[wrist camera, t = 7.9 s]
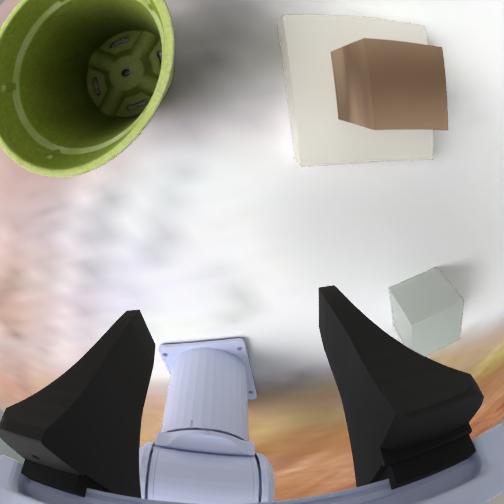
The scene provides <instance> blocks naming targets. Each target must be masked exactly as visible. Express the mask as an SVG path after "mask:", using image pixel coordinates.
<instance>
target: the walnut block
mask: <svg viewBox="0 0 504 504" xmlns="http://www.w3.org/2000/svg"><path fill="white" fill-rule="evenodd" d="M330 53H331V60H332V67H333V75H334V83H335V91H336V100H337V110H338V119H339V120H343V121H346V122H349V123H353V124H356V125H359V126H363V127H366V128H369V129H372V130H448V111H447V91H446V78H445V68H444V59H443V51H442V47H436V46H431V45H424V44H418V43H411V42H403V41H394V40H384V39H371V38H363V39H361V40H358V41H355V42H353V43H350V44H348V45H346V46H343V47H341V48H338V49H336V50H334V51H331V52H330Z"/></svg>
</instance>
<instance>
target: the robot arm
mask: <svg viewBox="0 0 504 504" xmlns="http://www.w3.org/2000/svg"><path fill="white" fill-rule="evenodd" d="M319 328H320V333H321V337H322V342H323V346H324V350H325V353H326V355H327V358H328V361H329V364H330V367H331V370H332V372H333V375H334V378H335V381H336V384H337V387H338V389H339V392H340V396H341V399H342V403H343V408H344V412H345V417H346V422H347V427H348V432H349V437H350V443H351V449H352V455H353V462H354V469H355V477H356V486H357V487H356V488H352V489H348V490H343V491H338V492H334V493H328V494H323V495H318V496H312V497H305V498H298V499H291V500H282V501H274V495H275V483H274V474H273V469H272V466H271V463H270V462H269V461H268V460H267V459H266V457H265V456H264V455H263V454H261V453H255V443H254V442H249V420H248V400H253V399H256V398H257V393H256V388H255V384H254V380H253V376H252V371H251V367H250V363H249V358H248V354H247V349H246V345H245V341H244V340H243V339H241V338H235V339H226V340H216V341H205V342H193V343H181V344H166V345H160V346H159V349H158V350H159V353H160V355H161V357H162V359H163V361H164V363H165V365H166V367H167V369H168V371H169V373H170V375H171V376H170V381H169V386H168V392H167V398H166V403H165V409H164V415H163V421H162V428H161V432H157V435H156V441H155V443H154V442H149V441H148V442H146V443H145V444H144V445H143V446H141V447H140V448H139V444H140V429H141V418H142V412H143V407H144V403H145V399H146V394H147V390H148V386H149V382H150V378H151V373H152V369H153V364H154V355H155V343H154V341H153V339H152V336H151V334H150V332H149V330H148V328H147V326H146V323H145V321H144V319H143V317H142V314H141V312H140V310H132V311H126V312H125V313H124V314H123V315H122V316H121V317H120V318H119V319H118V320H117V321H116V322H115V323H114V324H113V325H112V327H111V328H110V329H109V330H108V331H107V332H106V333H105V334H104V335H103V336H102V337H101V338H100V340H99V341H98V342H97V343H96V344H95V345H94V346H93V347H92V348H91V349H90V350H89V351H88V352H87V353H86V354H85V355H84V356H83V357H82V358H81V359H80V360H79V361H78V362H77V363H76V364H75V365H73V366H72V367H71V368H70V369H69V370H68V371H66V372H65V373H64V374H63V375H61V376H60V377H59V378H57V379H56V380H55V381H53V382H52V383H51V384H49V385H48V386H46V387H45V388H43V389H42V390H40V391H39V392H37V393H35V394H34V395H32V396H30V397H28V398H27V399H25V400H23V401H21V402H19V403H16V404H14V405H12V406H10V407H8V408H6V410H5V412H4V415H3V417H2V420H1V422H0V438H1V439H2V440H3V441H4V442H5V443H6V444H7V445H9V446H10V447H11V448H12V449H13V450H15V451H16V452H17V453H18V454H20V455H21V456H22V457H23V458H25V461H24V464H22V463H21V462H19V461H17V460H15V459H12V458H10V457H7V456H5V455H1V457H0V504H485V503H486V502H488V501H490V500H491V499H493V498H494V497H496V496H498V495H499V494H501V493H502V492H504V424H503V423H501V424H499V425H497V426H495V427H493V428H492V429H490V430H488V431H486V432H484V433H482V434H481V435H479V436H477V437H476V438H474V439H473V440H471V438H470V436H469V434H470V433H471V432H472V429H471V427H470V425H469V421H470V420H471V419H472V417H473V416H474V415H475V413H476V412H477V411H478V409H479V408H480V406H481V404H482V402H483V398H484V396H483V394H482V392H481V391H480V389H479V387H478V385H477V383H476V382H475V380H474V379H473V377H472V376H471V374H468V373H465V372H462V371H459V370H456V369H453V368H450V367H447V366H445V365H442V364H440V363H438V362H435V361H433V360H431V359H429V358H427V357H425V356H423V355H421V354H419V353H417V352H415V351H413V350H412V349H410V348H408V347H406V346H405V345H403V344H402V343H400V342H399V341H397V340H396V339H394V338H393V337H391V336H390V335H388V334H387V333H386V332H384V331H383V330H382V329H380V328H379V327H378V326H377V325H376V324H374V323H373V322H372V321H371V320H370V319H368V318H367V317H366V316H365V315H364V314H363V313H362V312H361V311H360V310H359V309H358V308H356V307H355V306H354V305H353V304H352V303H351V302H350V301H349V300H348V299H347V298H346V297H345V296H344V295H343V294H342V293H341V291H340V290H339V289H338V288H337V287H335V286H334V285H333V286H327V287H321V288H319ZM166 353H167V354H166Z"/></svg>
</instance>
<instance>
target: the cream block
mask: <svg viewBox="0 0 504 504" xmlns="http://www.w3.org/2000/svg"><path fill="white" fill-rule="evenodd" d="M277 27H278V34H279V41H280V47H281V54H282V62H283V69H284V76H285V84H286V92H287V101H288V109H289V118H290V127H291V136H292V146H293V156H294V159H295V161H296V162H297V163H298V164H299V166H300V167H310V166H320V165H332V164H345V163H359V162H376V161H397V160H433V130H372V129H369V128H366V127H363V126H359V125H356V124H353V123H349V122H346V121H343V120H339V119H338V110H337V100H336V91H335V83H334V75H333V67H332V60H331V53H330V52H331V51H334V50H336V49H338V48H341V47H343V46H346V45H348V44H350V43H353V42H355V41H358V40H361V39H363V38H371V39H384V40H394V41H403V42H411V43H418V44H424V45H428V42H427V35H426V28H425V26H423V25H418V24H412V23H407V22H401V21H394V20H387V19H379V18H370V17H359V16H344V15H282V17H281V19H280V21H279V22H278V24H277Z"/></svg>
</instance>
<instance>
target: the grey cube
mask: <svg viewBox="0 0 504 504" xmlns="http://www.w3.org/2000/svg"><path fill="white" fill-rule="evenodd" d="M388 289H389V295H390V302H391V310H392V317H393V326H394V327H395V329H396V331H397V333H398V335H399V337H400V339H401V341H402V342H403V344H404V345H405V346H406V347H408V348H410V349H412V350H413V351H415V352H417V353H419V354H421V355H423V356H427V355H429V354H431V353H433V352H435V351H437V350H439V349H441V348H443V347H445V346H447V345H449V344H451V343H453V342H455V341H457V340H459V339H460V333H461V325H462V316H463V305H464V299H463V298H462V296H461V295H460V294H459V293H458V292H457V290H456V289H455V288H454V287H453V286H452V285H451V283H450V282H449V281H448V280H447V279H446V278H445V277H444V275H443V274H442V273H441V272H440V271H439V270H438V269H437V268H436V267H434V268H432V269H430V270H428V271H426V272H423V273H421V274H419V275H417V276H415V277H412V278H410V279H408V280H405V281H403V282H401V283H398V284H396V285H394V286H391V287H389V288H388Z"/></svg>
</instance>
